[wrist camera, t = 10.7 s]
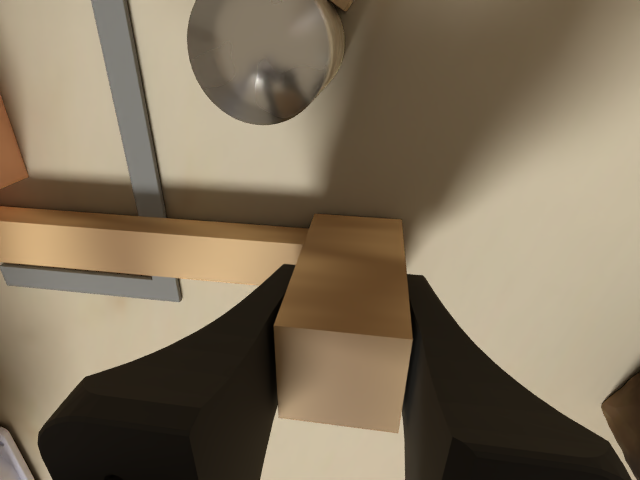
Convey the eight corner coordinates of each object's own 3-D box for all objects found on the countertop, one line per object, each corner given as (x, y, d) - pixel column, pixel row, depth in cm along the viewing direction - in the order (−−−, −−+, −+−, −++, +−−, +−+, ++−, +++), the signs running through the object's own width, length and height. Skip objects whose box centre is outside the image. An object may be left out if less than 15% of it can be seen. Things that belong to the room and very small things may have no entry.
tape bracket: (181, 299, 17) (179, 302, 17) (10, 282, 18) (7, 285, 18) (116, -56, 11) (112, -57, 11) (-131, -53, 12) (-138, -54, 12)
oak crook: (-71, 250, 17) (-265, 348, 12) (-186, 25, 13) (-550, 26, 8) (393, 291, 15) (398, 433, 10) (423, 35, 11) (459, 44, 6)
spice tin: (343, 98, 12) (327, 127, 9) (248, 95, 13) (197, 122, 9) (346, -17, 11) (329, -36, 8) (240, -17, 11) (177, -35, 8)
